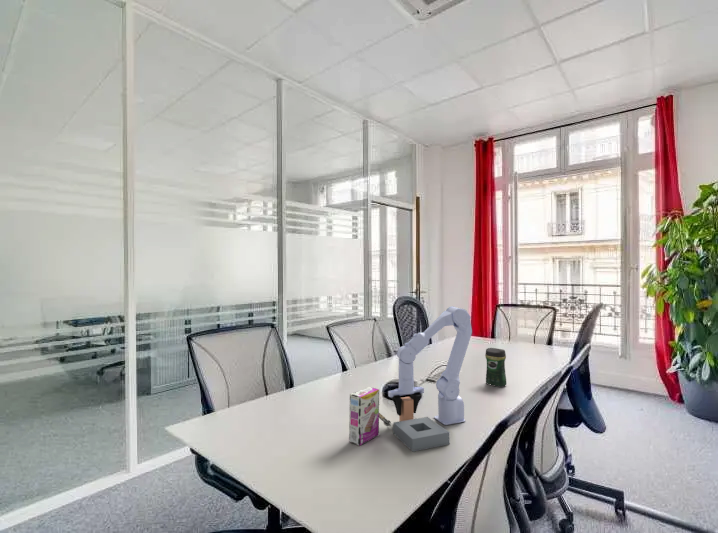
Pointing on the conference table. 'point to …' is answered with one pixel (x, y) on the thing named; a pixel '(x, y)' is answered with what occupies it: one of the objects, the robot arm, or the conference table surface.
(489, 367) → the coffee jar
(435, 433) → the socket block
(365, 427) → the candy bar box
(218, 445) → the conference table surface
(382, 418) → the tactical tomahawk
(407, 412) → the peg
